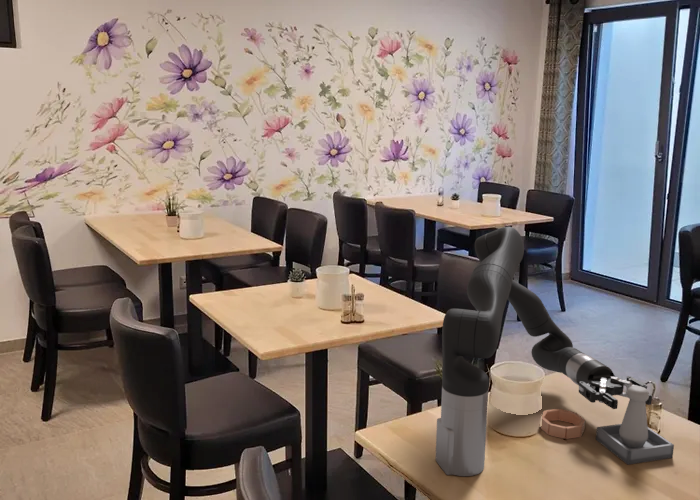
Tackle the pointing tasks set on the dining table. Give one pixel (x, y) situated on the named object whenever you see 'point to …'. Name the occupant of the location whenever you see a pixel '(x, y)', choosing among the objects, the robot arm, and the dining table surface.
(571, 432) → the collar
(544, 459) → the dining table surface
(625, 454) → the tray
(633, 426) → the salt shaker
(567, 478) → the dining table surface
